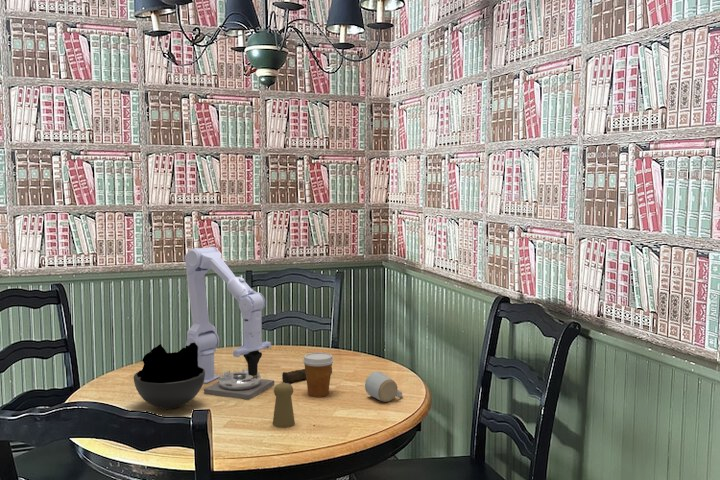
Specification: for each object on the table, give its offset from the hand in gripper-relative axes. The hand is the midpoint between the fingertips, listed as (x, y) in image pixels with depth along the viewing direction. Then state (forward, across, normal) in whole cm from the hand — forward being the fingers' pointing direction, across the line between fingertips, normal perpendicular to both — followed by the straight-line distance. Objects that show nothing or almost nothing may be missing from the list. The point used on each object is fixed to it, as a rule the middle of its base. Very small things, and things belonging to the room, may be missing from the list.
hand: (252, 374), depth 209 cm
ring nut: (+3, -1, +5) cm, 6 cm away
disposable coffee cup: (+6, +10, -18) cm, 21 cm away
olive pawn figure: (+6, -15, -27) cm, 31 cm away
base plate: (+5, -1, +5) cm, 7 cm away
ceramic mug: (+6, +20, -37) cm, 42 cm away
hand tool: (+6, +21, -4) cm, 23 cm away
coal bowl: (+6, -25, +9) cm, 27 cm away
